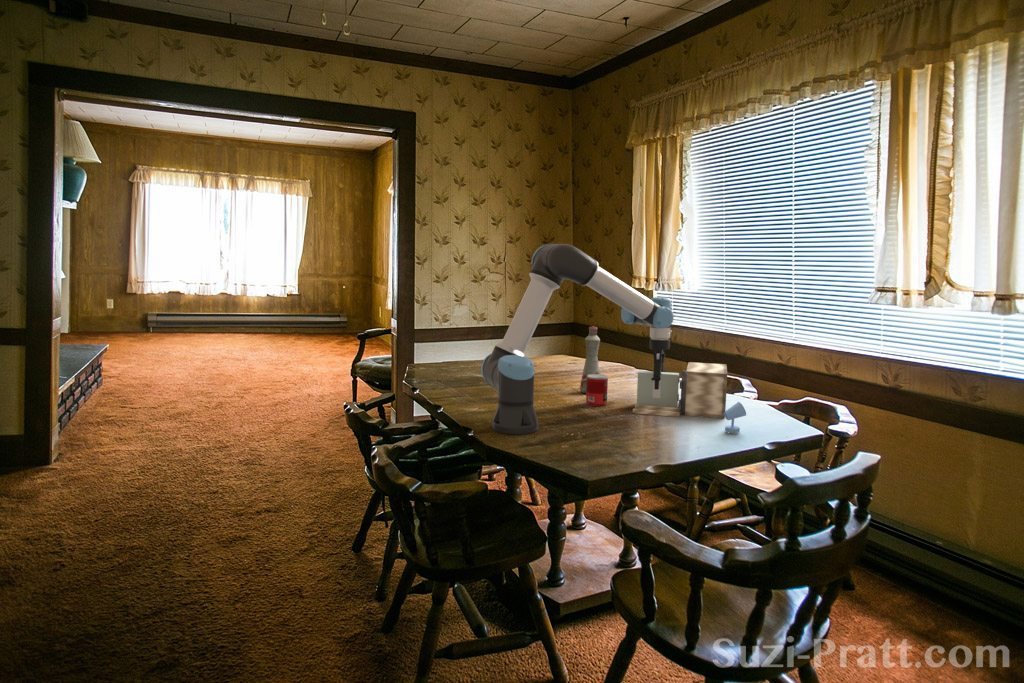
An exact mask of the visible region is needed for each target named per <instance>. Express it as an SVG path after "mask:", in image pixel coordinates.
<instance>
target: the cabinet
mask: <svg viewBox="0 0 1024 683" xmlns="http://www.w3.org/2000/svg"><path fill="white" fill-rule="evenodd" d="M727 385H728V366H727V364H726V363H710V362H693V361H690V362H689V361H688V364H687V367H686V370H682V371H681V380H680V382H679V389H680V399H679V401H678V407H677V408H671V407H658V406H645V405H637V404H635V405H634V408H632V414H640V415H650V416H652V415H653V416H662V417H663V416H664V417H665V416H666V417H677V418H679V417H681V416H689V417H699V416H703V417H702V418H712V417H719V418H718V419H724V418H725V416H724V412H725V411H726V408H727V405H726V404H727V390H728V389H727V387H728V386H727ZM725 419H726V418H725Z"/></svg>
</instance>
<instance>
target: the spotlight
mask: <svg viewBox="0 0 1024 683" xmlns="http://www.w3.org/2000/svg"><path fill="white" fill-rule="evenodd" d="M724 416H725V419H726V420H727V421H731V425H725V426H724V432H725V431H726V432H729V433H728V434H730V433H738V432H739V433H740V431H741V430H740V429H741V428H740V426H737V425H735V419H738V418H742V417H745V416H747V412H746V409H745V407H744V405H743V404H742V403H741V402H740V401H738V402H736V403H735V404H733V405H732V406H731V407H729V408H728V409H727V410H726V409H725V412H724ZM726 432H725V433H726Z"/></svg>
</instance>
